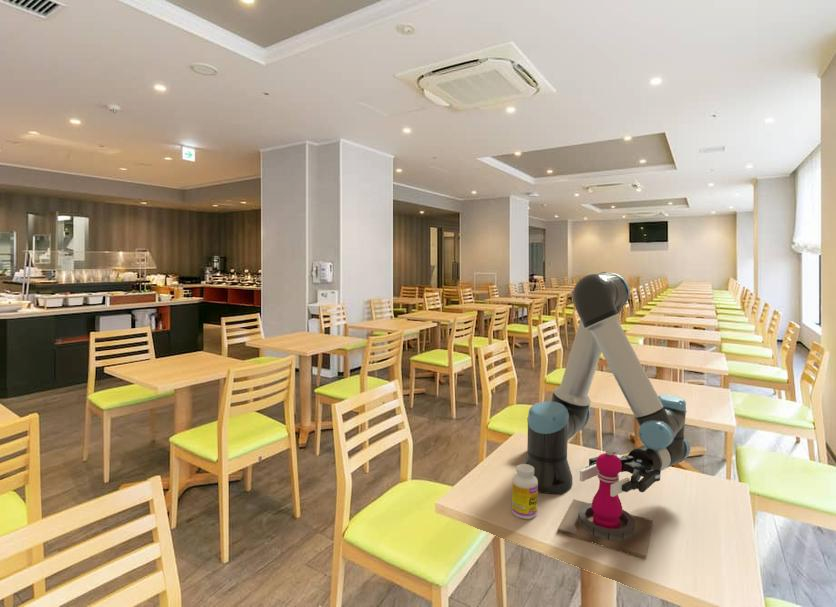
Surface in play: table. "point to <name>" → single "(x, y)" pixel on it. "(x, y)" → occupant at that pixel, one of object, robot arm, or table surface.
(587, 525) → the mill stand
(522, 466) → the supplement bottle
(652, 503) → the table surface
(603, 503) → the pepper mill
